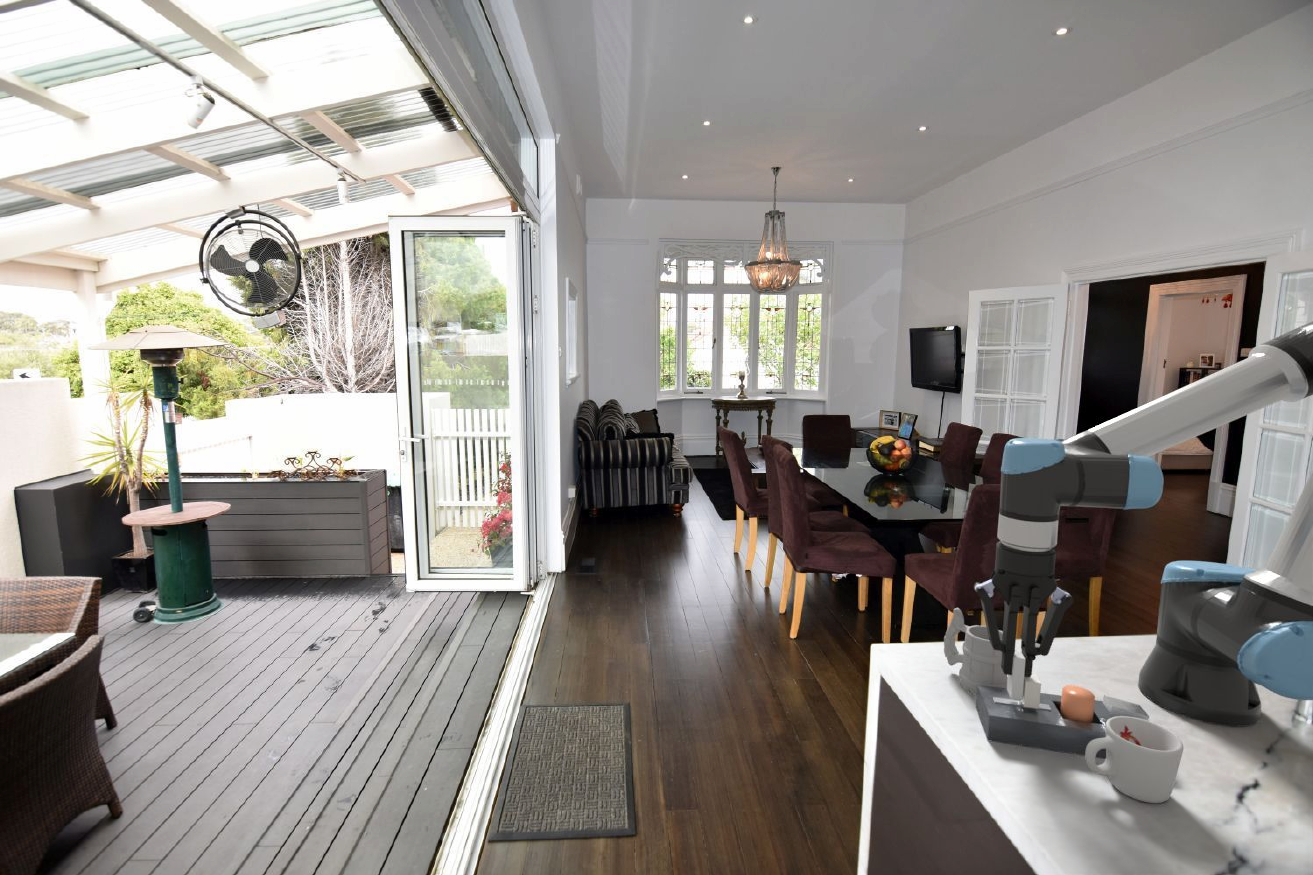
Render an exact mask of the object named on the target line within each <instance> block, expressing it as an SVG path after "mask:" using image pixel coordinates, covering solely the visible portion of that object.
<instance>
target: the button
mask: <svg viewBox="0 0 1313 875" xmlns="http://www.w3.org/2000/svg"><path fill="white" fill-rule="evenodd" d="M1061 696H1062V698H1061V710H1060V715H1061V716H1062V718H1063V719H1068V720H1075V721H1082V722H1089V723H1093V713H1094V702H1095V700H1096V696H1095V694H1094V693H1093V692H1092V691H1091V690H1089V689H1086V688H1084V687H1081V686H1078V685H1072V684H1071V685H1064V686H1062V690H1061Z"/></svg>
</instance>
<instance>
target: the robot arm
mask: <svg viewBox="0 0 1313 875" xmlns="http://www.w3.org/2000/svg"><path fill="white" fill-rule="evenodd" d="M1310 396H1313V321H1311V322H1308V323H1305V324H1304V325H1301V326H1299V327H1296V328H1294V329H1292V330H1290V331H1287V332H1286V333H1283V334H1281V335H1278V336H1277V337H1274V338H1272V339H1270V340H1267V341H1265V342H1263V343H1261V344H1259V345H1257V346H1255V347H1252V349H1250V351H1249V354H1248V357H1247V358H1245V359H1243V360H1240V361H1238V362H1236V363H1234V364H1232V365H1229V366H1228V367H1225V368H1223V369H1220V370H1218V371H1216V372H1214V373H1212V374H1209V375H1207V376H1205V377H1203V378H1201V379H1198V380H1196V381H1194V382H1191V383H1190V384H1187V385H1185V386H1183V387H1181V388H1178V389H1176V390H1174V391H1172V392H1169V393H1167V394H1165V395H1163V396H1160V397H1158V398H1155V399H1154V400H1152V401H1150V402H1148V403H1145V404H1143V405H1140V406H1138V407H1137V408H1134V409H1131V410H1130V411H1128V412H1125V413H1123V414H1121V415H1118V416H1117V417H1114V418H1112V419H1110V420H1107V421H1105V422H1103V423H1101V424H1099V425H1095V427H1092V428H1089V429H1088V430H1084V431H1082V432H1079V433H1078V434H1075V435H1073V436H1070V437H1068V438H1066V439H1064V438H1061V439H1060V438H1057V439H1056V438H1054V439H1049V438H1035V437H1017V438H1016V437H1015V438H1012V439H1009V441H1007V442H1006V444H1005V446H1004V449H1003V455H1002V460H1001V461H1002V462H1001V467H1000V472H1001V473H1000V475H1001V476H1000V495H999V500H1000V501H999V512H998V513H999V514H998V523H997V524H998V525H997V536H996V537H997V539H998V540H999V541H997V542H996V546H995V547H996V549H995V563H994V569H993V572H992V573H991V575H990V578H989V580H986V581H983V582H982V583H981V582H975V583H974V584H973V588H974V590H975V592H976V594H977V595H978V597H979V598H980V602H981V603H980V604H981V607H982V613H983V617H984V621H985V626H986V627H987V632H988V637H989V641H990V643H991V645H992V647H993V649H994V650H999V651H1001V652H1002V662H1001V668H1002V670H1003V672H1004V674H1006V675H1007V677H1008V679H1007V691H1008V693H1009V695H1010V697H1011V698H1012V699H1019V700H1022V697H1023V685H1024V677H1031V675H1032V673H1033V664H1034V661H1036V659H1037V658H1036V657H1037V656H1042V657H1046V656H1048V655H1049V653H1050V651H1051V648H1052V645H1053V643H1054V639H1055V637H1056V635H1057V632H1058V630H1059V627H1060V625H1061V623H1062V620H1063V617H1064V614H1065V612H1066V611H1067V610H1068V608H1070V607H1071V606H1072V604H1073V603H1074V601H1075V600H1074V598H1073V597H1072V595H1071V594H1070V593H1069V592H1068V591H1067V590H1064V589H1063V590H1062V589H1061V588H1060V587H1058V583H1057V581H1056V580H1055V569H1056V568H1055V567H1056V556H1057V551H1056V550H1055V547H1056V546H1057V544H1058V532H1059V519H1060V510H1061V507H1081V508H1101V509H1103V508H1106V509H1107V508H1108V509H1123V510H1124V511H1125V510H1127V511H1128V510H1133V509H1136V510H1138V509H1148V508H1149V509H1150V508H1151V507H1153V506H1155V505H1156V504H1157V503H1159V501H1160V499H1161V497H1162V496H1163V495H1162V494H1163V489H1164V474H1163V472H1162V471H1163V470H1162V468H1161V466H1160V465H1159V464H1158V462H1157V461H1156V460H1155V459H1154V458H1151V456H1153V455H1156V454H1158V453H1161V452H1163V451H1165V450H1168V449H1170V448H1173V447H1175V446H1177V445H1180V444H1181V443H1184V442H1186V441H1188V440H1191V439H1193V438H1195V437H1198V436H1201V435H1203V434H1205V433H1207V432H1210V431H1212V430H1214V429H1217V428H1219V427H1221V426H1224V425H1226V424H1228V423H1231V422H1233V421H1236V420H1238V419H1240V418H1243V417H1245V416H1248V415H1250V414H1252V413H1254V412H1257V411H1260V410H1262V409H1264V408H1266V407H1268V406H1271V405H1273V404H1275V403H1278V402H1281V401H1283V402H1289V403H1294V402H1295V403H1296V402H1299V401H1301V400H1303V399H1305V398H1308V397H1310ZM1160 584H1161V587H1160V588H1161V589H1160V596H1159V597H1160V601H1159V608H1158V619H1157V620H1158V621H1157V628H1156V629H1157V630H1156V638H1155V639H1156V640H1155V641H1156V642H1155V645H1154V647H1153V649H1152V650H1151V652H1150V654H1149V655H1148V657H1147V659H1146V660H1145V662H1144V664H1143V665H1142V667H1141V668H1140V671H1139V672H1138V673H1139V675H1138V682H1137V683H1138V689H1139V690H1140V692H1141V693H1142V694H1143V695H1145V697H1146V698H1148V699H1149V700H1150V701H1152V702H1153V703H1155V704H1157V705H1159V706H1160V707H1163V708H1164V709H1166V710H1169V711H1171V712H1174V713H1175V714H1178V715H1181V716H1184V717H1186V718H1190V719H1192V720H1197V721H1201V722H1204V723H1208V724H1214V725H1220V726H1227V727H1247V726H1253V725H1256V724H1257V723H1259V721H1260V719H1261V714H1262V701H1261V698H1260V695H1259V691H1258V688H1257V685H1258V686H1261V687H1263V688H1265V689H1267V690H1268V691H1270V692H1272V693H1273V694H1276V695H1278V696H1281V697H1283V698H1286V699H1292V700H1297V701H1313V470H1312V471H1311V474H1310V475H1309V478H1308V479H1307V481H1306V484H1305V485H1304V486H1303V490H1302V491H1301V493H1300V495H1299V497H1298V499H1297V502H1296V503H1295V506H1294V507H1293V510H1292V512H1291V514H1290V516H1289V518H1288V520H1287V522H1286V523H1285V525H1284V528H1283V530H1282V532H1281V534H1280V536H1279V538H1278V541H1276V543H1275V546H1274V548H1273V551H1272V553H1271V554H1270V557H1269V559H1268V561H1267V562H1266V565H1265V567H1264V568H1262V569H1260V570H1258V571H1256V570H1254V569H1253V568H1248V567H1244V566H1239V565H1233V564H1229V563H1228V564H1227V563H1220V562H1219V563H1218V562H1213V561H1202V560H1176V561H1175V560H1174V561H1171V562H1169V563H1167V564H1166V565H1165V567H1164V570H1163V574H1162V578H1161V580H1160ZM994 589H996V591H997V592H998V594H999V595H1000V596H1001V598H1002V599H1003V600H1004V601H1003V602H1004V612H1003V624H1002V631H1003V636H1002V640H1000V637H999V632H998V630H999V628H998V627H999V626H998V622H997V618H996V613H995V609H994V604H993V601H992V599H991V598H992V597H993V596H994ZM1049 597H1050V600H1051V601H1050V603H1049V606H1048V607H1047V610H1046V612H1045V616H1044V618H1043V621H1042V624H1041V626H1040V629H1039V632H1038V634H1037V626H1038V616H1039V614H1040V606H1041V605H1042V604H1043V603H1044V602H1045V601H1046V600H1047V599H1048V598H1049ZM1022 606H1023V613H1022V614H1023V615H1022V616H1023V617H1022V628H1021V641H1020V642H1021V643H1020V649H1021V650H1020V649H1016V640H1017V629H1018V627H1017V626H1018V618H1019V616H1018V615H1019V612H1020V607H1022Z"/></svg>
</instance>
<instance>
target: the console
mask: <svg viewBox="0 0 1313 875" xmlns="http://www.w3.org/2000/svg"><path fill="white" fill-rule="evenodd" d="M975 697H976V699H975V710H976V712H977V715H978V717H979V720H980V724H981V726H982V729H983V731H984V734H985V736H986V739H987V741H989V742H995V743H1002V744H1008V745H1014V746H1021V747H1027V748H1028V747H1029V748H1034V749H1039V750H1040V749H1041V750H1047V751H1053V752H1061V753H1066V754H1071V755H1072V754H1073V755H1077V756H1084V757H1085V751H1086V747H1087V745H1088V743H1089V742H1091V741H1092V740H1094V739H1098V738H1105V737H1106V732H1105V724H1106V722H1107V720H1108V719H1110V718H1112V717H1117V716H1119V715H1115V714H1112V713H1110V712H1109V711H1108V709H1107V708H1106V707H1105V705H1104V704H1103V703H1102V701H1103V700H1099V699H1097V700H1096V699H1095V702H1094V713H1093V723H1089V722H1082V721H1075V720H1068V719H1063V718H1062V716H1061V715H1060V710H1061V698H1062V694H1061V695H1059V694H1052V693H1043V692H1040V704H1039V709H1037V708H1030V707H1024V706H1023V704H1022V702H1021V700H1019V699H1012V698H1011V697H1010V695H1009V693H1008V691H1007V688H1001V687H993V686H986V685H978V684H977V696H975ZM1095 758H1097V759H1105V760H1106V749H1101V750H1099V751H1098V752H1097V754H1096V756H1095Z"/></svg>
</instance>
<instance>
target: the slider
mask: <svg viewBox="0 0 1313 875" xmlns="http://www.w3.org/2000/svg"><path fill="white" fill-rule="evenodd" d="M1041 689H1042V682H1041V681H1040V679H1039V678H1038V676H1037V674H1036V673H1033V672H1032V675H1031V677H1024V685H1023V697H1022V700H1021V702H1022V704H1023V706H1024V707H1030V708H1037V709H1039V704H1040V693H1042V690H1041Z"/></svg>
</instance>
